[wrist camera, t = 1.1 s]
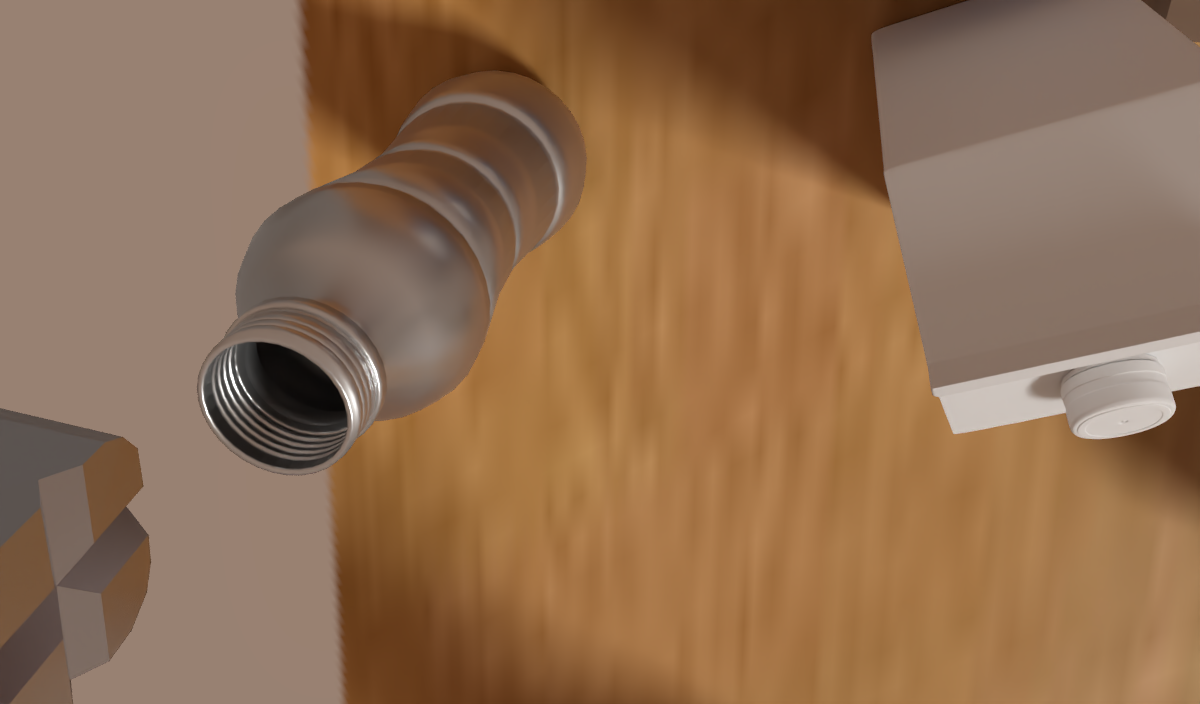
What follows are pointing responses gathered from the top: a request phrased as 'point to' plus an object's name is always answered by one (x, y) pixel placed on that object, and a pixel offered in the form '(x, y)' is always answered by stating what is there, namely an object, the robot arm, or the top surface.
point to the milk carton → (1047, 207)
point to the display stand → (1180, 15)
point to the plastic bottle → (390, 273)
